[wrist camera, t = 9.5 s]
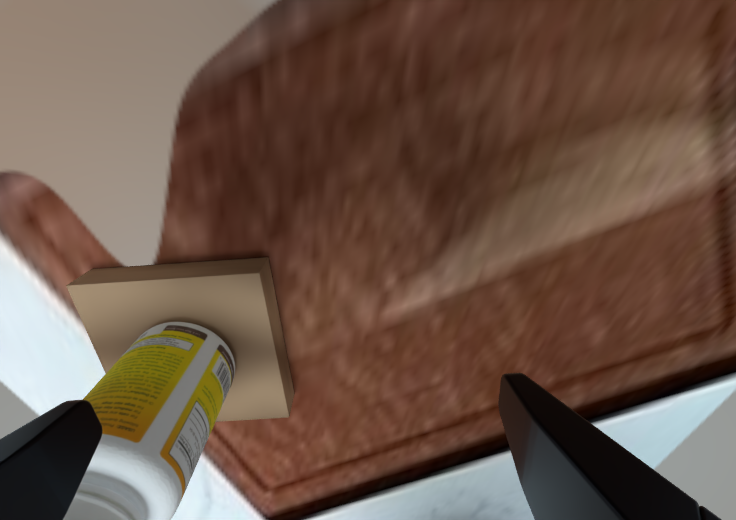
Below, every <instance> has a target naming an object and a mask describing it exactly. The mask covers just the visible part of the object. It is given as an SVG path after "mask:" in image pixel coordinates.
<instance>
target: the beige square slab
mask: <svg viewBox="0 0 736 520" xmlns="http://www.w3.org/2000/svg"><path fill="white" fill-rule="evenodd" d="M67 289H68V291H69V293H70V295H71V298H72V300H73V302H74V304H75V306H76V309H77V311H78V313H79V315H80V317H81V320H82V322H83V324H84V326H85V329H86V331H87V333H88V335H89V337H90V340H91V342H92V344H93V346H94V349H95V351H96V353H97V355H98V357H99V360H100V362H101V364H102V366H103V368H104V371H105V373H107V372H108V371H109V370H110V369H111V368H112V367H113V365H114V364H115V363H116V362H117V361H118V360H119V359H120V358H121V356H122V355H123V354H124V353H125V352H126V351H127V350H128V349H129V348H130V347H131V345H132V344H133V343H134V342H135V341H136V340H137V339H138V338H139V337H140V336H141V335H142V334H143V333H144V332H146V331H147V330H148V329H150V328H152V327H154V326H156V325H159V324H163V323H167V322H187V323H192V324H196V325H199V326H202V327H204V328H206V329H208V330H210V331H212V332H213V333H215V334H216V335H217V336H219V337H220V338H221V339H222V340H223V341H224V342H225V343H226V345H227V346H228V348H229V349H230V351H231V353H232V355H233V358H234V362H235V375H234V379H233V382H232V385H231V387H230V389H229V391H228V394H227V396H226V398H225V400H224V403H223V405H222V407H221V410H220V412H219V415H218V417H217V419H216V421H215V422H218V421H235V420H251V419H267V418H284V417H289V416H290V411H291V407H292V402H293V398H294V389H293V383H292V378H291V373H290V368H289V362H288V357H287V352H286V347H285V342H284V336H283V331H282V326H281V321H280V316H279V310H278V305H277V300H276V295H275V290H274V284H273V279H272V274H271V269H270V263H269V258H268V257H265V258H250V259H235V260H220V261H205V262H190V263H175V264H160V265H145V266H130V267H115V268H99V269H91V270H90V271H88V272H87V273H85V274H83V275H82V276H80V277H79V278H77V279H76V280H74V281H73V282H71V283H70V284H68V285H67Z"/></svg>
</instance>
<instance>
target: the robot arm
mask: <svg viewBox="0 0 736 520" xmlns="http://www.w3.org/2000/svg"><path fill="white" fill-rule="evenodd" d="M499 412H500V416H501V419H502V422H503V426H504V429H505V433H506V436H507V439H508V443H509V446H510V450H511V453H512V456H513V460H514V463H515V467H516V470H517V473H518V477H519V480H520V483H521V486H522V489H523V491H524V494H525V496H526V499H527V501H528V504H529V506H530V509H531V511H532V514H533V516H534V519H535V520H721V519H720V518H718V517H717V516H716V515H715V514H713V513H712V512H710V511H709V510H708V509H706V508H705V507H703V506H699V505H698V503H697V502H696V501H695V500H694V499H693V498H691V497H690V496H688V495H687V494H686V493H684V492H683V491H682V490H680V489H679V488H678V487H676V486H675V485H674V484H672V483H671V482H669V481H668V480H667V479H665V478H664V477H663V476H661V475H660V474H659V473H657V472H656V471H655V470H653V469H652V468H651V467H649V466H648V465H646V464H645V463H644V462H642V461H641V460H640V459H638V458H637V457H636V456H634V455H633V454H632V453H630V452H629V451H627V450H626V449H625V448H623V447H622V446H621V445H619V444H618V443H617V442H615V441H614V440H613V439H611V438H610V437H608V436H607V435H606V434H604V433H603V432H602V431H600V430H599V429H598V428H596V427H595V426H594V425H592V424H591V423H590V422H588V421H587V420H585V419H584V418H583V417H581V416H580V415H579V414H577V413H576V412H575V411H573V410H572V409H571V408H569V407H568V406H566V405H565V404H564V403H562V402H561V401H560V400H558V399H557V398H556V397H554V396H553V395H552V394H550V393H549V392H547V391H546V390H545V389H543V388H542V387H541V386H539V385H538V384H537V383H535V382H534V381H533V380H531V379H530V378H528V377H527V376H526V375H524V374H522V373H508V374H504V375H502V378H501V384H500V393H499ZM102 432H103V429H102V425H101V423H100V421H99V419H98V417H97V415H96V413H95V411H94V409H93V406H92V405H91V403H90V402H89V401H87V400H73V401H66V402H64V403H62V404H60V405H58V406H57V407H55V408H53V409H51V410H50V411H48V412H46V413H45V414H43V415H41V416H39V417H38V418H36V419H34V420H33V421H31V422H29V423H27V424H26V425H24V426H22V427H21V428H19V429H17V430H15V431H14V432H12V433H11V434H8V435H7V436H5V437H3V438H2V439H0V520H63V519H64V517H65V515H66V513H67V511H68V509H69V507H70V505H71V503H72V501H73V499H74V497H75V494H76V492H77V490H78V488H79V486H80V483H81V481H82V479H83V477H84V475H85V473H86V470H87V468H88V466H89V464H90V462H91V459H92V457H93V455H94V453H95V451H96V449H97V446H98V444H99V442H100V440H101V437H102Z"/></svg>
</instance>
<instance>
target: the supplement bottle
mask: <svg viewBox="0 0 736 520" xmlns="http://www.w3.org/2000/svg"><path fill="white" fill-rule="evenodd" d="M234 375H235V362H234V358H233V355H232V353H231V351H230V349H229V348H228V346H227V345H226V343H225V342H224V341H223V340H222V339H221V338H220V337H219V336H217V335H216V334H215V333H213V332H212V331H210V330H208V329H206V328H204V327H202V326H199V325H196V324H192V323H187V322H167V323H163V324H159V325H156V326H154V327H152V328H150V329H148V330H147V331H146V332H144V333H143V334H142V335H141V336H140V337H139V338H138V339H137V340H136V341H135V342H134V343H133V344H132V345H131V347H130V348H129V349H128V350H127V351H126V352H125V353H124V354H123V355H122V356H121V358H120V359H119V360H118V361H117V362H116V363H115V364H114V365H113V367H112V368H111V369H110V370H109V371H108V372H107V373H106V374H105V375H104V377H103V378H102V379H101V380H100V381H99V382H98V383H97V384H96V386H95V387H94V388H93V389H92V390H91V391H90V392H89V393H88V394H87V396H86V397H85V398H84V399H83V400H87V401H89V402H90V403H91V405H92V406H93V409H94V411H95V413H96V415H97V417H98V419H99V421H100V423H101V425H102V429H103V432H102V437H101V440H100V442H99V444H98V446H97V449H96V451H95V453H94V455H93V457H92V459H91V462H90V464H89V466H88V468H87V470H86V473H85V475H84V477H83V479H82V481H81V483H80V486H79V488H78V490H77V492H76V494H75V497H74V499H73V501H72V503H71V505H70V507H69V509H68V511H67V513H66V515H65V517H64V519H63V520H170V519H171V518H172V517H173V515H174V513H175V512H176V510H177V508H178V506H179V504H180V502H181V499H182V497H183V495H184V493H185V490H186V488H187V486H188V483H189V481H190V478H191V476H192V474H193V472H194V469H195V467H196V465H197V462H198V460H199V458H200V456H201V453H202V451H203V449H204V446H205V444H206V442H207V440H208V437H209V435H210V433H211V431H212V429H213V426H214V424H215V421H216V419H217V417H218V415H219V412H220V410H221V407H222V405H223V403H224V400H225V398H226V396H227V394H228V391H229V389H230V387H231V385H232V382H233V379H234Z"/></svg>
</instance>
